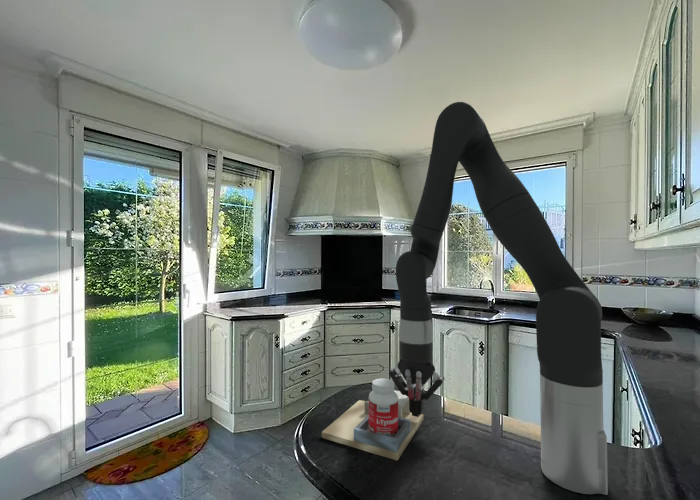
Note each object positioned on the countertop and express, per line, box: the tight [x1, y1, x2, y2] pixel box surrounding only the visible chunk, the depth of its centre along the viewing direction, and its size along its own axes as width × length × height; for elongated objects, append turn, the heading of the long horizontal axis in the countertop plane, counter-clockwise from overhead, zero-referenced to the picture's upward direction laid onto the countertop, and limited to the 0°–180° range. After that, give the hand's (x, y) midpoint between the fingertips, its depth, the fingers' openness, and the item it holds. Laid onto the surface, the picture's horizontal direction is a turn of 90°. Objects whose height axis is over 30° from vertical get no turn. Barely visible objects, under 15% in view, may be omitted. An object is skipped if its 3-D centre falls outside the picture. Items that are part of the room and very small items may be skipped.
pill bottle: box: [368, 377, 398, 438], centre depth 70 cm, size 6×6×11 cm
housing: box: [394, 389, 410, 418], centre depth 78 cm, size 7×7×4 cm
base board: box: [321, 399, 425, 461], centre depth 75 cm, size 17×18×4 cm
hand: (416, 414), depth 75 cm, fingers closed
